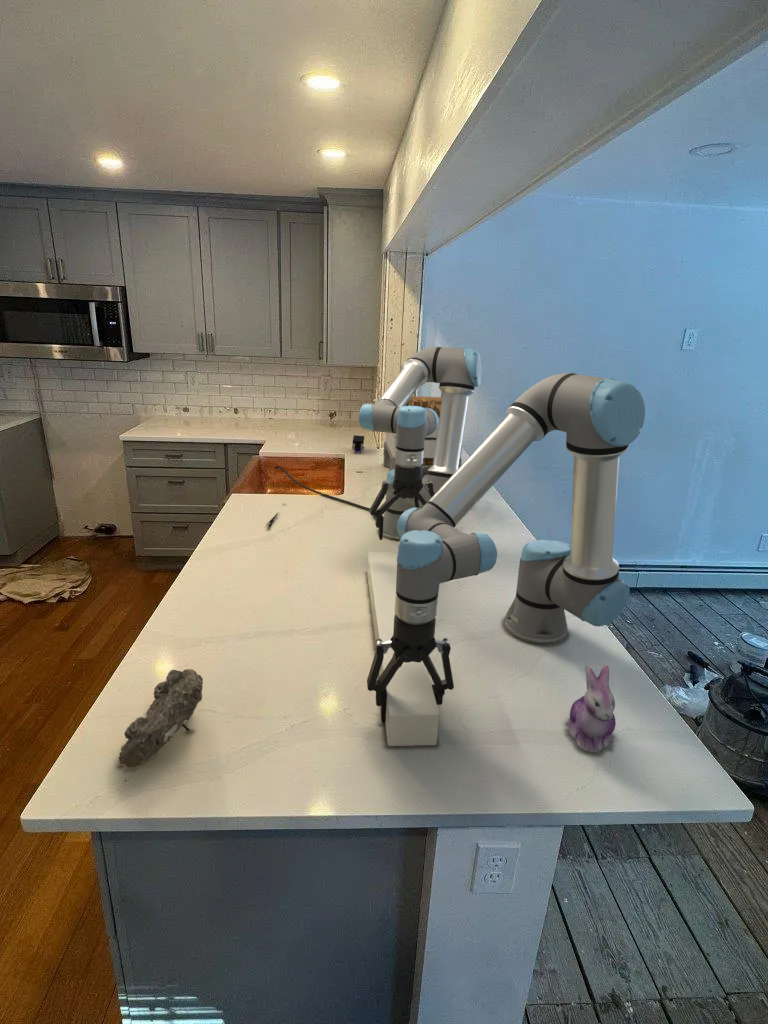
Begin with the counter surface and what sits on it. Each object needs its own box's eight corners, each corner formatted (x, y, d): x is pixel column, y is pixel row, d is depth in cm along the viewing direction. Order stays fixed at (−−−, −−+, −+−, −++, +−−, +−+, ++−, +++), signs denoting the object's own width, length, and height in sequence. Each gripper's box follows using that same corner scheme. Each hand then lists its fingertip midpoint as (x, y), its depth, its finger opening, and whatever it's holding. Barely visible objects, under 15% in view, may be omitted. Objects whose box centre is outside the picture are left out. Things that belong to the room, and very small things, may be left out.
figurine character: (364, 456, 305) (364, 447, 319) (364, 443, 302) (364, 434, 315) (351, 456, 305) (352, 446, 318) (351, 443, 302) (352, 434, 315)
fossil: (153, 670, 114) (204, 637, 109) (187, 701, 117) (238, 670, 112) (92, 760, 94) (152, 726, 89) (135, 795, 97) (195, 763, 92)
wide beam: (367, 572, 170) (368, 552, 167) (396, 573, 170) (398, 552, 168) (387, 746, 103) (389, 715, 101) (436, 745, 104) (439, 714, 101)
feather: (285, 507, 224) (287, 503, 224) (267, 531, 198) (270, 526, 197) (281, 504, 224) (284, 500, 223) (263, 528, 197) (265, 524, 197)
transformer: (382, 463, 289) (386, 382, 275) (445, 464, 293) (451, 384, 279) (390, 482, 257) (394, 392, 243) (460, 483, 261) (468, 394, 247)
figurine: (594, 762, 101) (608, 692, 96) (553, 726, 109) (565, 660, 104) (630, 746, 105) (646, 678, 100) (588, 712, 114) (601, 648, 109)
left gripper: (364, 468, 147) (362, 543, 154) (457, 468, 151) (450, 542, 158) (361, 460, 154) (358, 533, 161) (449, 461, 158) (443, 532, 165)
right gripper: (355, 626, 97) (352, 732, 105) (479, 626, 99) (467, 730, 107) (354, 605, 105) (351, 705, 112) (469, 605, 106) (458, 703, 114)
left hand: (404, 537), depth 160 cm, fingers open, 13 cm apart
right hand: (407, 717), depth 110 cm, fingers closed on wide beam, 9 cm apart
